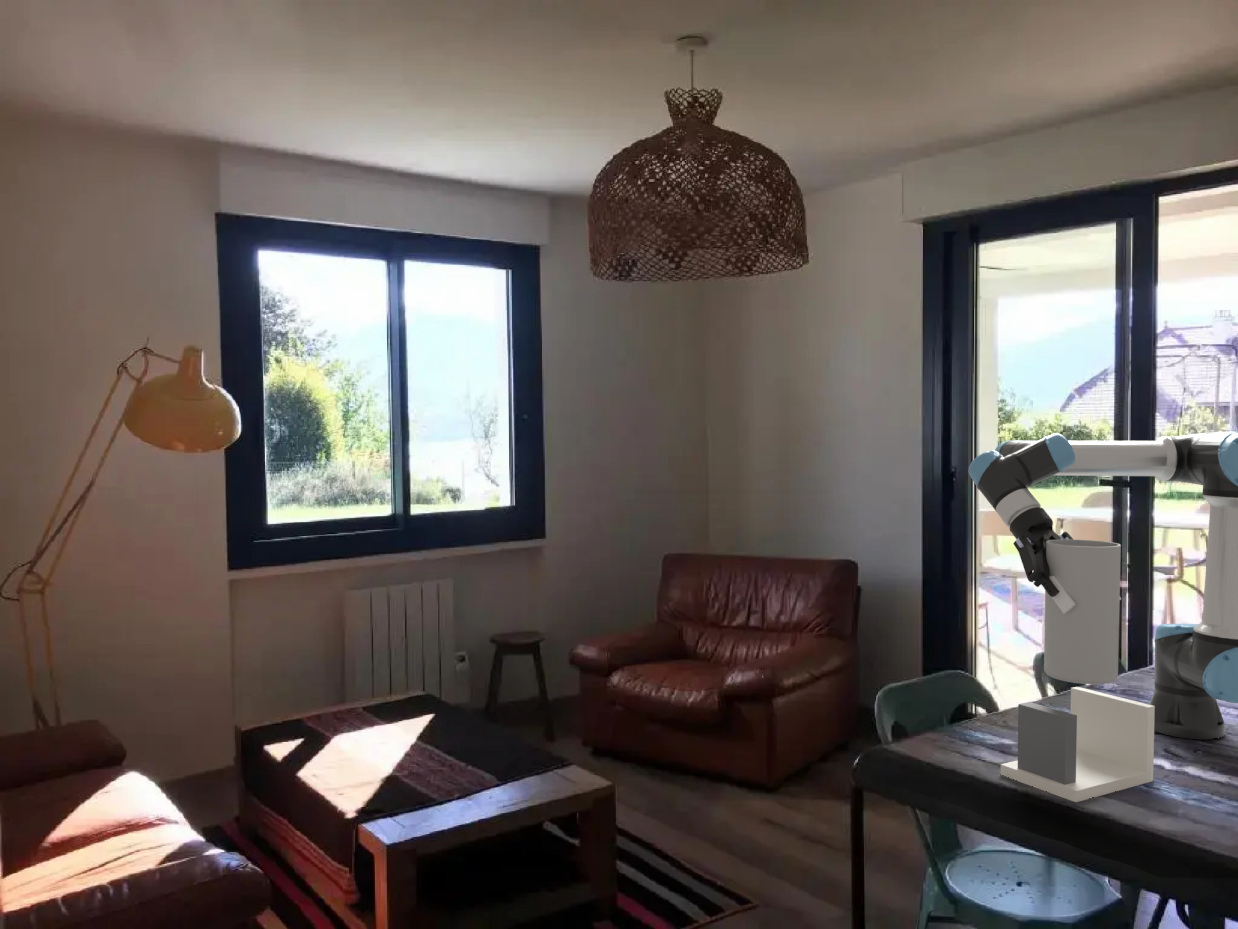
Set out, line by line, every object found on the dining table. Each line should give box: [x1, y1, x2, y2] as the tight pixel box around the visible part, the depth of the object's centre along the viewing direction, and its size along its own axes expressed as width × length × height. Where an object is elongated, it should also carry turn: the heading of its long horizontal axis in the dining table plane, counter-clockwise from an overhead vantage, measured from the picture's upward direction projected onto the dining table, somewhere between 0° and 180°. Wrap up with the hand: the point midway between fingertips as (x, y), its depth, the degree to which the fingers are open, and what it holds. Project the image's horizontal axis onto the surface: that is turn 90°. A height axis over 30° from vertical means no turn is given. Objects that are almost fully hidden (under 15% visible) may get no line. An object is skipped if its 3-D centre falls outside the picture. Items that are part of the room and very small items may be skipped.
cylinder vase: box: [1043, 539, 1122, 685], centre depth 185 cm, size 12×12×25 cm
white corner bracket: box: [1000, 686, 1155, 803], centre depth 186 cm, size 22×16×14 cm
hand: (1093, 606), depth 183 cm, fingers closed on cylinder vase, 12 cm apart
